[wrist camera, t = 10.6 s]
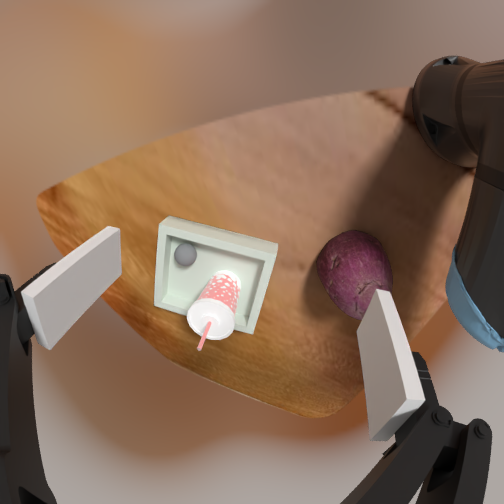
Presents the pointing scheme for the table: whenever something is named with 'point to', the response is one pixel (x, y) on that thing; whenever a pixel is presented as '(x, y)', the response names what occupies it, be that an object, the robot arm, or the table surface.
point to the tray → (212, 267)
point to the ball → (185, 254)
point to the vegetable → (354, 271)
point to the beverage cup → (215, 307)
